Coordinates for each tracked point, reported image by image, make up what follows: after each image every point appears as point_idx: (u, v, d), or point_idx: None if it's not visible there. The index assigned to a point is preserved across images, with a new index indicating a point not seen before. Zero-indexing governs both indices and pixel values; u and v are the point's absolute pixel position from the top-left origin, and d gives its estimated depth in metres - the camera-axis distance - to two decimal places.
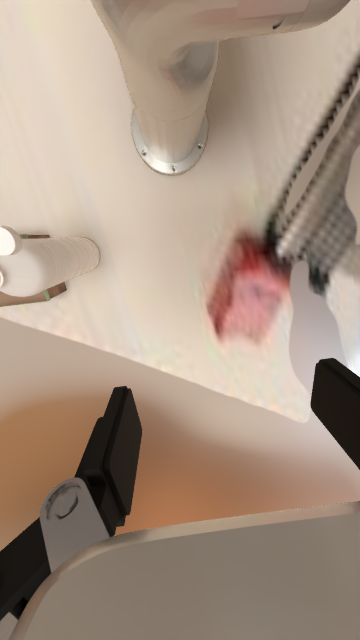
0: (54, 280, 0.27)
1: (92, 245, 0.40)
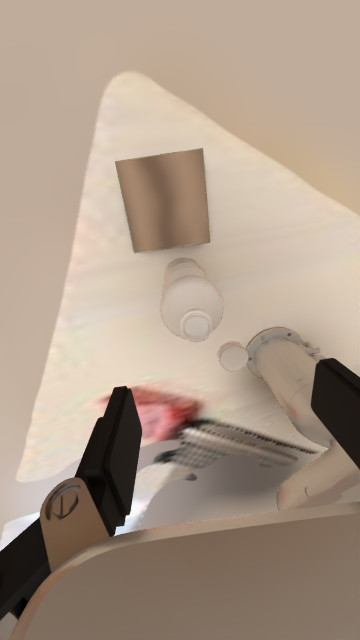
0: None
1: None
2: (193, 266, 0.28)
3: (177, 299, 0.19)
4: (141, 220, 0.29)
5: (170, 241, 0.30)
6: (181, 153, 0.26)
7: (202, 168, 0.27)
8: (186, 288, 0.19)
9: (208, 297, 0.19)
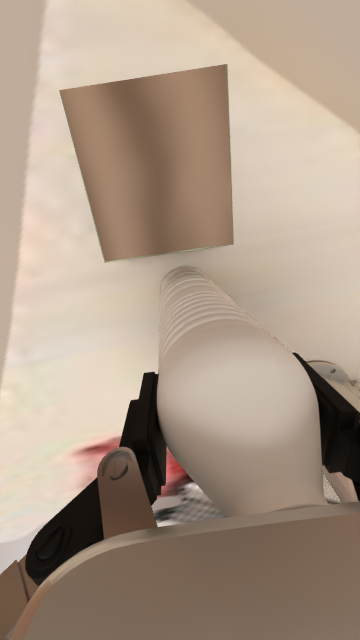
0: None
1: None
2: (212, 286, 0.16)
3: (210, 417, 0.06)
4: (115, 205, 0.17)
5: (166, 242, 0.17)
6: (186, 74, 0.14)
7: (225, 106, 0.14)
8: (236, 380, 0.06)
9: (303, 409, 0.06)
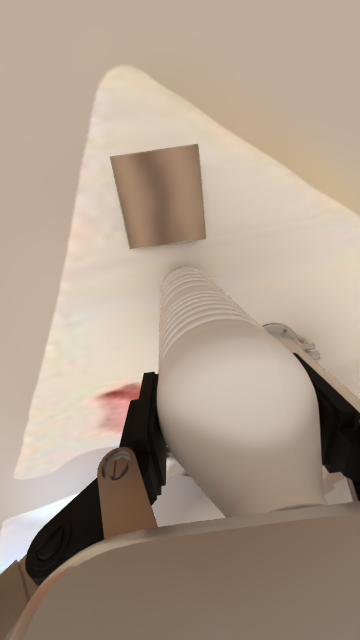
0: None
1: None
2: (213, 286, 0.16)
3: (210, 416, 0.06)
4: (137, 216, 0.29)
5: (166, 237, 0.30)
6: (176, 149, 0.26)
7: (197, 164, 0.27)
8: (235, 380, 0.06)
9: (303, 408, 0.06)
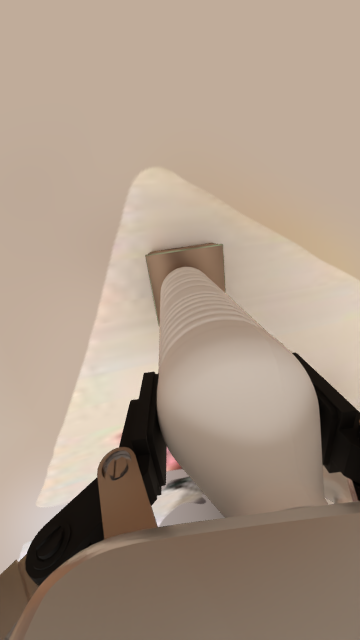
0: None
1: None
2: (213, 286, 0.16)
3: (210, 418, 0.06)
4: None
5: None
6: (204, 249, 0.30)
7: (221, 260, 0.31)
8: (236, 381, 0.06)
9: (303, 409, 0.06)
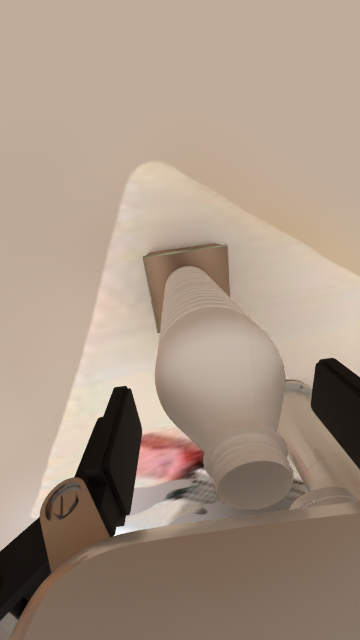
0: None
1: None
2: (210, 282, 0.18)
3: (193, 375, 0.08)
4: None
5: None
6: (206, 250, 0.27)
7: (226, 262, 0.28)
8: (214, 349, 0.08)
9: (266, 371, 0.08)
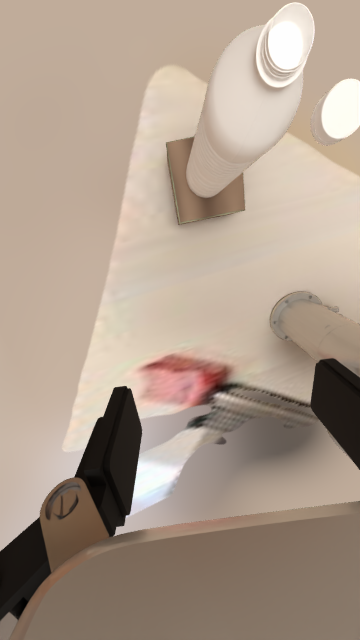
0: (219, 158, 0.18)
1: None
2: None
3: (242, 40, 0.12)
4: (187, 193, 0.34)
5: (211, 211, 0.35)
6: None
7: None
8: (254, 27, 0.12)
9: None
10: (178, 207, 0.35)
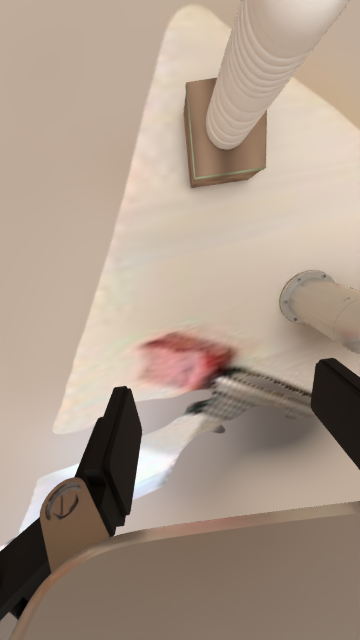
0: (261, 49, 0.15)
1: (242, 140, 0.30)
2: None
3: None
4: (204, 144, 0.31)
5: (229, 166, 0.32)
6: None
7: None
8: None
9: None
10: (194, 159, 0.32)
